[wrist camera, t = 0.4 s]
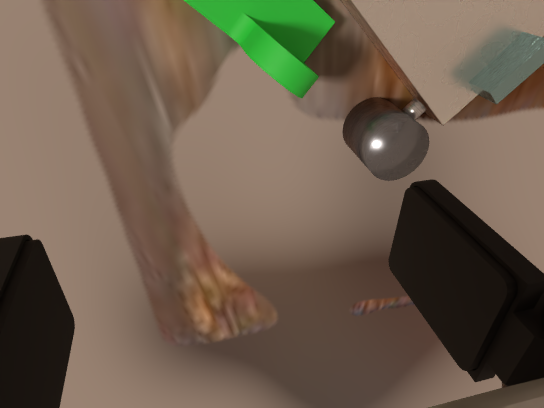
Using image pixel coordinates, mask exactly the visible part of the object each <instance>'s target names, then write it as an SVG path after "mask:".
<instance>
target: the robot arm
mask: <svg viewBox="0 0 544 408" xmlns="http://www.w3.org/2000/svg"><path fill="white" fill-rule="evenodd" d="M389 267H390V270H391V271H392V273H393V274H394V276H395V277H396V279H397V280H398V281H399V283H400V284H401V286H402V287H403V288H404V290H405V291H406V293H407V294H408V296H409V297H410V298H411V300H412V301H413V303H414V304H415V305H416V307H417V308H418V310H419V311H420V313H421V314H422V315H423V317H424V318H425V319H426V321H427V322H428V324H429V325H430V327H431V328H432V329H433V331H434V332H435V334H436V335H437V336H438V338H439V339H440V340H441V342H442V344H443V345H444V346H445V348H446V349H447V351H448V352H449V353H450V355H451V356H452V358H453V359H454V360H455V362H456V363H457V365H458V366H459V367H460V368H461V369H462V370H465V371H467V372H468V373H469V374H470V376H471V377H472V379H473V380H474V381H475V382H478V381H482V380H486V379H489V378H493V377H494V376H495V374H496V375H497V376H498V377H499V379H500V380H501V381H502V388H500V389H496V390H493V391H489V392H485V393H481V394H478V395H474V396H470V397H466V398H463V399H459V400H455V401H451V402H447V403H444V404H440V405H436V406H432V407H429V408H544V273H542V272H541V271H540V270H539V269H538V268H536V266H534V265H533V264H532V263H531V262H530V261H529V260H527V259H526V258H525V257H524V256H523V255H522V254H520V253H519V252H518V251H517V250H516V249H515V248H514V247H512V246H511V245H510V244H509V243H508V242H507V241H506V240H504V239H503V238H502V237H501V236H500V235H499V234H498V233H496V232H495V231H494V230H493V229H492V228H491V227H489V226H488V225H487V224H486V223H485V222H484V221H482V220H481V219H480V218H479V217H478V216H477V215H476V214H474V213H473V212H472V211H471V210H470V209H469V208H467V207H466V206H465V205H464V204H463V203H462V202H460V201H459V200H458V199H457V198H456V197H455V196H454V195H452V194H451V193H450V192H449V191H448V190H447V189H446V188H444V187H443V186H442V185H441V184H440V183H439V182H437V181H436V180H426V181H418V182H414V183H412V184H411V186H410V188H408V189H407V190H406V191H405V194H404V198H403V202H402V207H401V211H400V215H399V219H398V223H397V228H396V231H395V236H394V240H393V244H392V248H391V252H390V256H389ZM74 326H75V325H74V317H73V315H72V312H71V310H70V308H69V305H68V303H67V301H66V298H65V296H64V293H63V291H62V289H61V286H60V284H59V282H58V279H57V277H56V275H55V272H54V270H53V268H52V265H51V263H50V261H49V258H48V256H47V254H46V251H45V249H44V247H43V244H42V242H41V241H40V240H32V238H31V237H30V236H29V235H21V236H13V237H6V238H0V408H59V407H60V402H61V396H62V392H63V386H64V381H65V376H66V371H67V366H68V361H69V356H70V350H71V345H72V340H73V335H74V329H75V327H74Z"/></svg>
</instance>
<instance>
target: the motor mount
mask: <svg viewBox="0 0 544 408" xmlns="http://www.w3.org/2000/svg"><path fill="white" fill-rule="evenodd" d="M341 1H342V3H343V4H344V5H345V7H346V8H347V9H348V11H349V12H350V13H351V15H352V16H353V17H354V19H355V20H356V21H357V23H358V24H359V25H360V27H361V28H362V29H363V31H364V32H365V33H366V35H367V36H368V37H369V39H370V40H371V41H372V43H373V44H374V45H375V47H376V48H377V49H378V50H379V52H380V53H381V54H382V56H383V57H384V58H385V60H386V61H387V62H388V64H389V65H390V66H391V68H392V69H393V70H394V72H395V73H396V74H397V76H398V77H399V78H400V80H401V81H402V82H403V84H404V85H405V86H406V88H407V89H408V90H409V92H410V93H411V94H412V96H413V97H414V99H413V100H412V101H411V102H410V103H408V104H407V105H406V106H405V107H404V108H403V109H402V110H400V109H399V108H398V107H396V106H395V105H393V104H392V103H391V102H389V101H388V100H386V99H383V98H370V99H366V100H364V101H362V102H360V103H359V104H357V105H356V106H355V107H354V108H353V109H352V110H351V111H350V113H349V114H348V116H347V117H346V119H345V122H344V125H343V138H344V141H345V143H346V144H347V145H348V147H349V148H350V149H351V150H352V151H353V152H354V153H355V154H356V155H357V157H358V158H359V159H360V160H361V161H362V162H363V163H364V165H365V166H366V167H367V168H368V169H369V170H370V171H371V172H372V174H373V175H374V176H376V177H377V178H379V179H382V180H388V181H390V180H397V179H400V178H402V177H405V176H407V175H408V174H410V173H411V172H412V171H414V170H415V169H416V168H417V167H418V166H419V165H420V164H421V162H422V161H423V159H424V157H425V156H426V154H427V151H428V147H429V137H428V133H427V131H426V129H425V128H424V127H423V126H422V125H421V124H419V123H418V122H416V121H415V120H416V119H417V118H418V117H419V116H420V115H422V114H423V113H424V112H425V113H426V114H427V115H428V116H430V117H431V118H433V119H434V120H436V121H437V122H439V123H440V124H441V125H444V124H446V123H447V122H448V121H449V120H450V119H451V118H452V117H453V116H455V115H456V114H457V113H458V112H459V111H460V110H461V109H462V108H463V107H465V106H466V105H467V104H468V103H469V102H470V101H471V100H472V99H474V98H475V97H476V96H477V95H480V96H482V97H484V98H485V99H487V100H489V101H491V102H493V103H495V104H498V103H499V102H500V101H501V100H502V99H503V98H504V97H506V96H507V95H508V94H509V93H510V92H511V91H513V90H514V89H515V88H516V87H517V86H518V85H519V84H521V83H522V82H523V81H524V80H525V79H526V78H527V77H529V76H530V75H531V74H532V73H533V72H534V71H536V70H537V69H538V68H539V67H540V66H541V65H542V64H544V38H543V36H544V0H341Z"/></svg>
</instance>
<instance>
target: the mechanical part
mask: <svg viewBox="0 0 544 408" xmlns="http://www.w3.org/2000/svg"><path fill="white" fill-rule="evenodd" d="M184 1H185V2H187V3H188V4H189V5H190V6H192V7H193V8H194V9H196V10H197V11H198V12H199V13H201V14H202V15H203V16H205V17H206V18H207V19H208V20H210V21H211V22H212V23H214V24H215V25H216V26H217V27H219V28H220V29H221V30H223V31H224V32H225V33H226V34H228V35H229V36H230V37H231V38H233V39H234V40H235V41H236V42H237V43H238V44H239V45H240V46H241V47H242V48H243V50H244V51H245V52H246V54H247V55H248V56H249V57H250V58H251V59H252V60H253V61H254V62H255V63H256V64H257V65H258V66H260V67H261V68H262V69H263V70H264V71H265V72H266V73H268V74H269V75H270V76H271V77H272V78H273V79H275V80H276V81H277V82H278V83H280V84H281V85H282V86H284V87H285V88H286V89H288V90H289V91H290V92H292V93H293V94H295V95H296V96H298V97H300V98H303V96H304V95H305V94H306V93H307V91H308V90H309V89H310V88H311V86H312V85H313V84H314V82H315V81H316V80H317V79H318V77H319V76H318V75H317V74H316V73H315V72H313V71H312V70H311V69H310V68H309V67H308V66H307V65H306V64H305V63H304V62H305V61H306V60H307V58H308V57H309V56H310V54H311V53H312V52H313V50H314V49H315V48H316V46H317V45H318V44H319V43H320V41H321V40H322V39H323V37H324V36H325V35H326V33H327V32H328V31H329V29H330V28H331V27H332V25H333V24H334V23H335V21H334V20H333V19H332V18H331V17H330V16H329V15H328V14H327V13H326V12H325V11H324V10H323V9H322V8H320V7H319V6H318V5H317V4H316V3H315V2H314V1H313V0H184Z"/></svg>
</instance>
